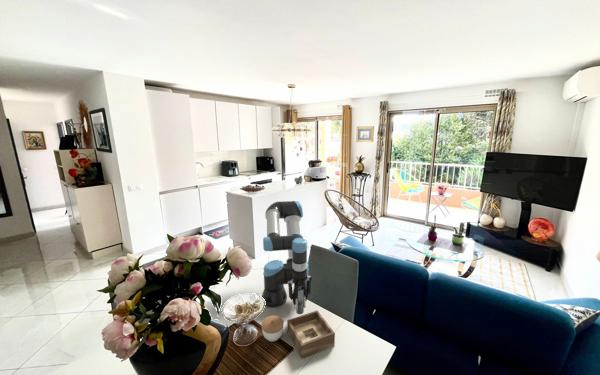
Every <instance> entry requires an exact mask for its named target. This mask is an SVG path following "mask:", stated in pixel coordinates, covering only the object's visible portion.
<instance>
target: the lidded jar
mask: <svg viewBox="0 0 600 375" xmlns="http://www.w3.org/2000/svg"><path fill="white" fill-rule="evenodd" d="M284 323H285V322H284V319H283V318H282V317H280V316H279V315H268V316H266V317H265V318H264V319H263V320H262V321H261V325H260V326H261V332H262V334H263V337H264V339H266V340H267V341H268V342H270V343H271V342H276V341H278V340H279V339H281V337H282V335H283V332H284V326H285V325H284Z"/></svg>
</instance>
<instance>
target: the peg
mask: <svg viewBox="0 0 600 375" xmlns="http://www.w3.org/2000/svg"><path fill="white" fill-rule="evenodd" d="M296 298H297V301H298V310H297V311H296V310H295V312H296V314H297V315H304V309H305V308H304V289H303V287H302V285H299V288H298V291H297V297H296Z"/></svg>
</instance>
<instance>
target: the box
mask: <svg viewBox="0 0 600 375" xmlns="http://www.w3.org/2000/svg"><path fill="white" fill-rule="evenodd" d="M286 323H287V324H286V326H287V327H286V328H287V329H286V330H287V334H288V337H289V338H290V339H291V342H292V343H293V346H294V347H295V349H296V351H297V353H298V355H299V357H300V358H301V360H304V359H306V358H308V357H312V356H313V355H316V354H318V353H321V352H323V351H325V350H328V349H330V348H333V347H335V346H336V345H335V342H336V340H335V338H336V336H335V335H336V332H335V331H334V330H333V329H332V327H331V326H330V325H329V324H328V322H327V321H326V319H325V318H324V317H323V316H322V314H321V313H320V312H319V310H314V311H310V312H307V313H305V314H301V315H299V316H296V317H293V318H290V319H287V322H286ZM311 334H313V335H314V337H312V338H310V339H307V336H308V335H311Z"/></svg>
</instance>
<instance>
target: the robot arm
mask: <svg viewBox="0 0 600 375" xmlns="http://www.w3.org/2000/svg"><path fill="white" fill-rule="evenodd" d="M265 210H266V211H265V213H264V214H265V215H264V216H265V220H266V236H265V237H264V236H263V238H262V244H263V245H262V246H263V250H264V251H265V252H275V251H276V252H277V251H287V253H288V254H287V255H288V258H287V259H286V261H285V263H284V262H283V261H282V260H279V259H274V260H271V261H268V262H267V263H266V264H265V265H264V267H263V286H264V287H263V291H262V294H261V298H262V297H263V298H264V299H265V301H266V305H265V306H266V307H269V308H278V307H280V306H282V305H284V304H285V303H286V302H287V300H288V297H289V299H290V300H291V301H292V304H293V305H294V306H293V307H294V309H295V312H296V311H297V310H298V301H297V298H296V297H297V291H298V288H299V286H301V287H303V289H304V309H306V304H307V303H306V302H307V300H308V297H309V295H310V294H311V291H312V290H311V288H312V280H313V277H312V276H311V275H310V274H309V262H308V242H307V240H306V239H305V238H304V236H303V235H302V234H301V230H300V222H301V220H302V218H303V216H304V212H303V206H302V203H301V201H299V200H292V201H291V200H289V201H288V200H287V201H274V202H273V203H272V204H270V205H269V206H268V207H267V209H265ZM280 219H283V221H284V222H285V224H286V235H281V228H280ZM285 285H287V286H288V294H287V291H286V289H285Z"/></svg>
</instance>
